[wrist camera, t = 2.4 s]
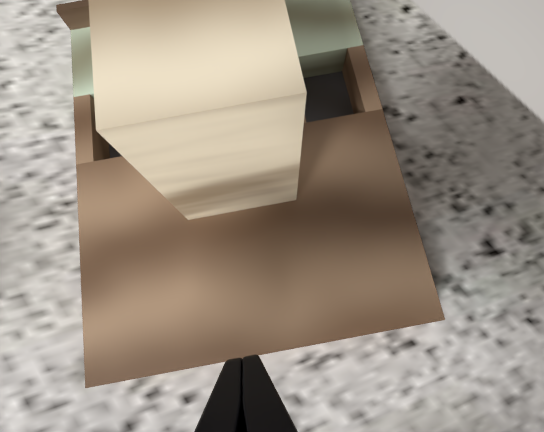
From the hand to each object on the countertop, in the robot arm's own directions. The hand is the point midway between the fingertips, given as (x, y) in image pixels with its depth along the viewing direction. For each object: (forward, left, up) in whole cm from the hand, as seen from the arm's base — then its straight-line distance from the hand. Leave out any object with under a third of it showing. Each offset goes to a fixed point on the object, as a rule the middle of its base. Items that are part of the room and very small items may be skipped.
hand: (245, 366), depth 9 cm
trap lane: (+10, -2, -11) cm, 15 cm away
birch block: (+10, -2, -9) cm, 13 cm away
